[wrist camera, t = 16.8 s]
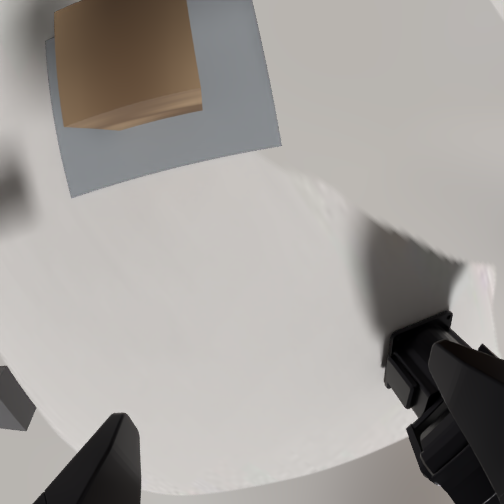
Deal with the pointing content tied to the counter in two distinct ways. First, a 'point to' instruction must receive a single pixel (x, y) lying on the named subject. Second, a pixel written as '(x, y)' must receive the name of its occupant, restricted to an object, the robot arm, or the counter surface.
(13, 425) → the grey rectangular bar
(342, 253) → the counter surface
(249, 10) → the pad
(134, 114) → the wooden block
